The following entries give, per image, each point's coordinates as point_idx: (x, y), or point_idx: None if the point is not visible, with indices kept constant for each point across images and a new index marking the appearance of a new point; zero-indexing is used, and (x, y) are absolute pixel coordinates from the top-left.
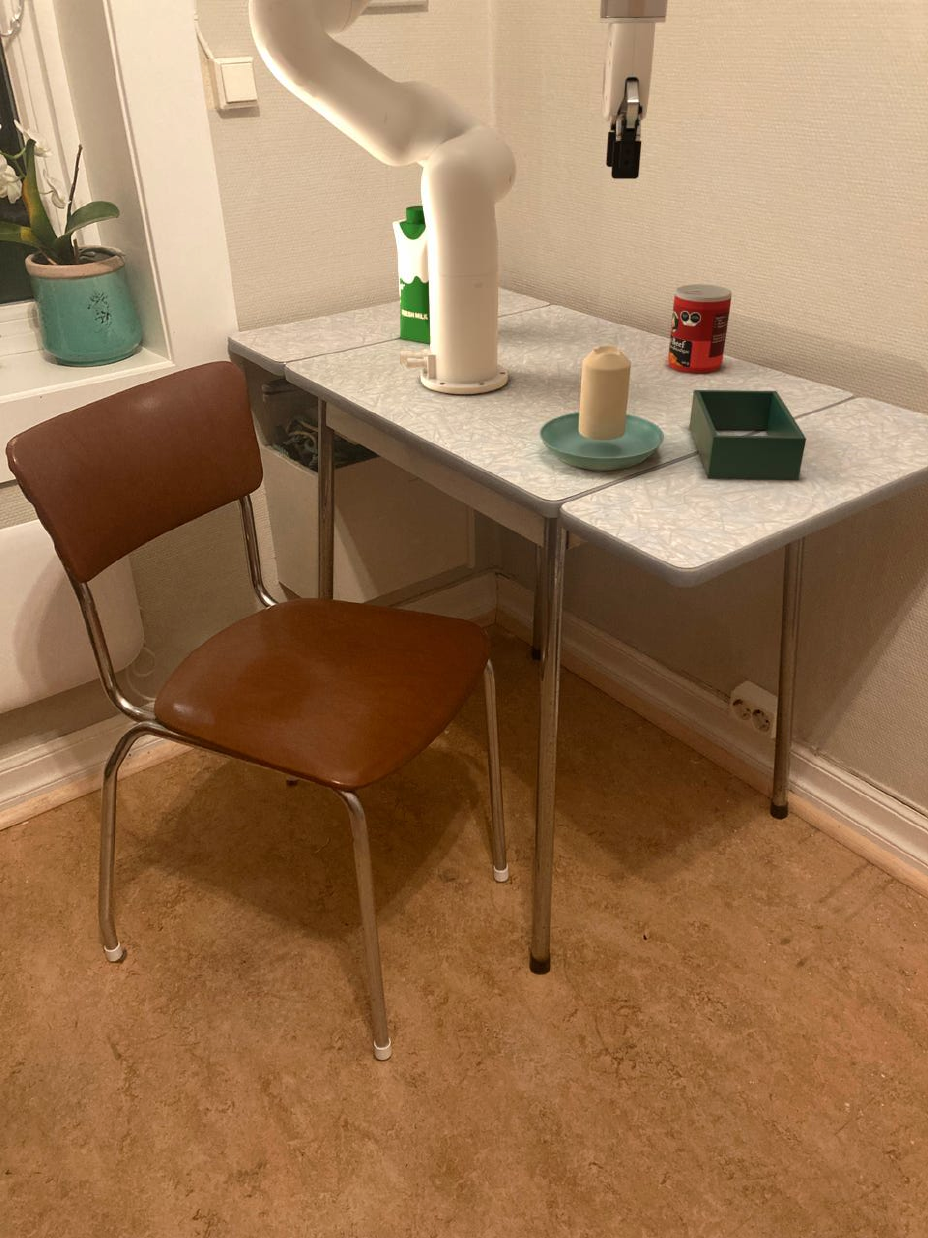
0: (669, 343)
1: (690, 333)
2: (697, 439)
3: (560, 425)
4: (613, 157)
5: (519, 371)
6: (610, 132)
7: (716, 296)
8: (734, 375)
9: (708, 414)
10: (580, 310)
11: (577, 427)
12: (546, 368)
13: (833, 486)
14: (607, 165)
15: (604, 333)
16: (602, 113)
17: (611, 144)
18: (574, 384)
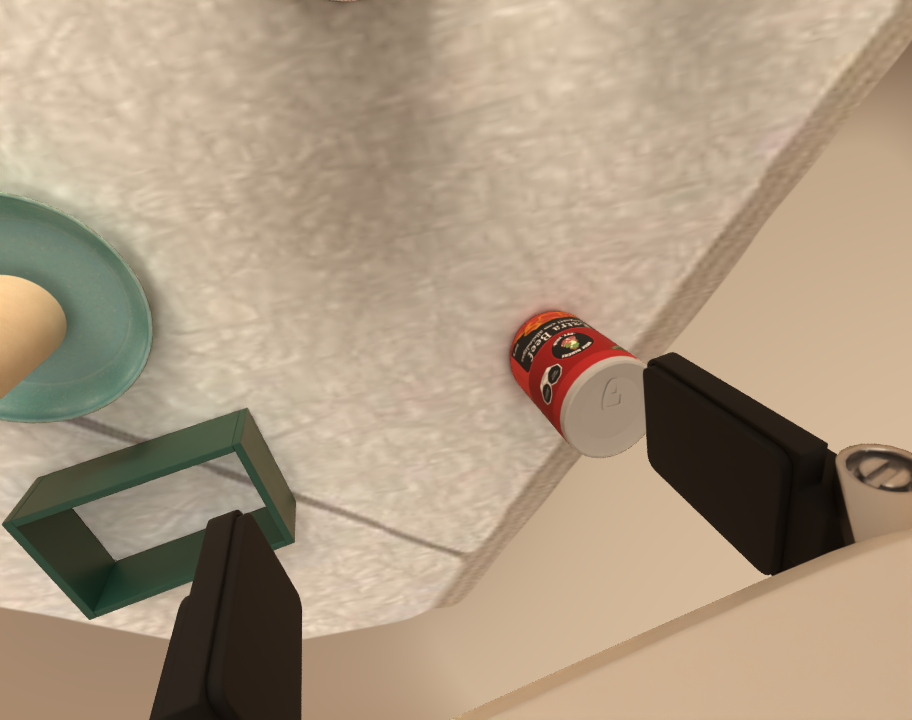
0: (562, 321)
1: (534, 375)
2: (157, 443)
3: (56, 216)
4: (185, 611)
5: (441, 14)
6: (795, 464)
7: (592, 434)
8: (514, 413)
9: (115, 492)
10: (857, 68)
11: (95, 245)
12: (476, 78)
13: None
14: (649, 362)
15: (710, 156)
16: (577, 709)
17: (721, 434)
18: (394, 166)
